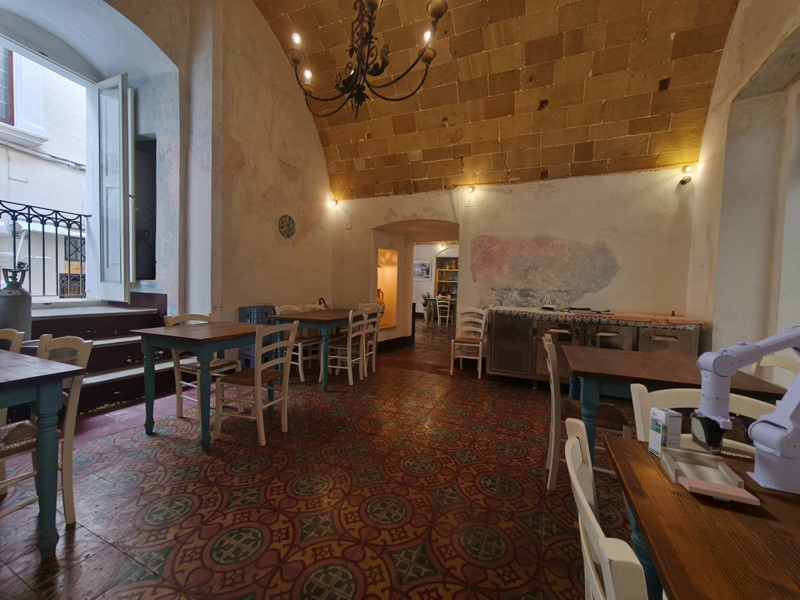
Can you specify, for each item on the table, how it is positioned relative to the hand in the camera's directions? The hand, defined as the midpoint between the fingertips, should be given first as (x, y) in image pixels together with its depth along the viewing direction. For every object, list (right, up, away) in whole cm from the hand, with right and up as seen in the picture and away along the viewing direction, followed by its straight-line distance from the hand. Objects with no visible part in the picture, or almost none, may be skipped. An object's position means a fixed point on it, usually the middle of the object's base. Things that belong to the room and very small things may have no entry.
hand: (712, 445), depth 93 cm
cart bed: (-3, -9, +1) cm, 10 cm away
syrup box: (-3, -9, +14) cm, 17 cm away
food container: (+18, -10, +20) cm, 28 cm away
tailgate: (-6, -7, -6) cm, 11 cm away
